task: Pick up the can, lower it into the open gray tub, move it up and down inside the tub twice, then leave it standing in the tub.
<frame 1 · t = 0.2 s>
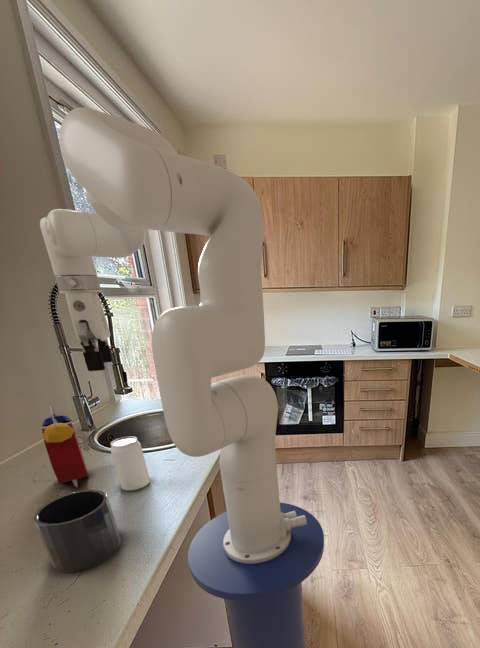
hand: (101, 366, 80), 29 cm above the countertop, tool pointing down, fingers open, 9 cm apart
open gray tub: (88, 551, 65), on the countertop
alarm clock: (80, 478, 91), on the countertop
can: (136, 485, 87), on the countertop
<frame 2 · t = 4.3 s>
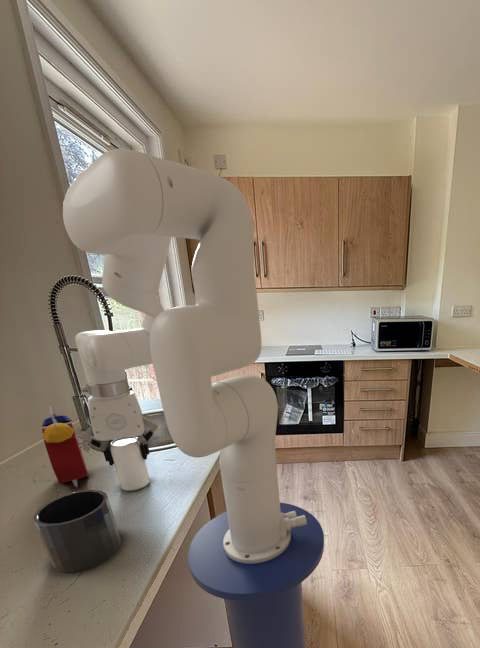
hand: (129, 459, 84), 7 cm above the countertop, tool pointing down, fingers closed on can, 6 cm apart
can: (136, 485, 87), on the countertop, touching gripper
everything else where it was.
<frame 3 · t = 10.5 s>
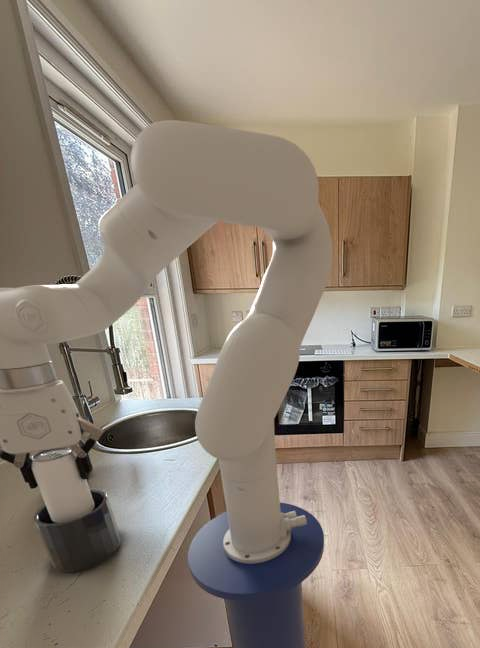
hand: (61, 479, 59), 15 cm above the countertop, tool pointing down, fingers closed on can, 6 cm apart
can: (74, 514, 62), point 8 cm above the countertop, touching gripper
everything else where it was.
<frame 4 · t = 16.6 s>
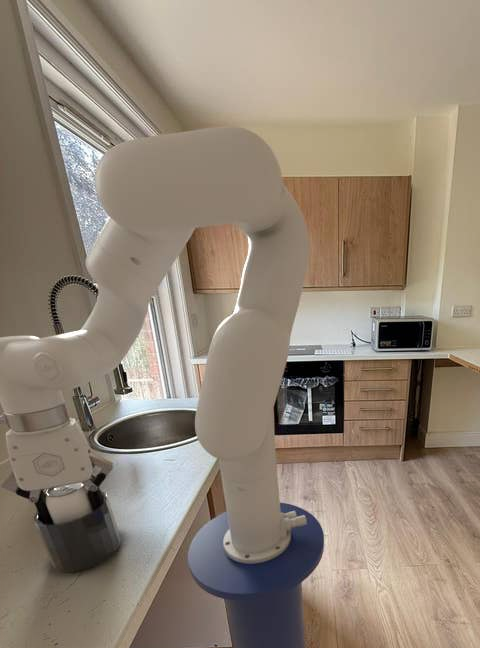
hand: (74, 511, 62), 9 cm above the countertop, tool pointing down, fingers closed on can, 6 cm apart
can: (86, 544, 64), point 2 cm above the countertop, touching gripper
everything else where it was.
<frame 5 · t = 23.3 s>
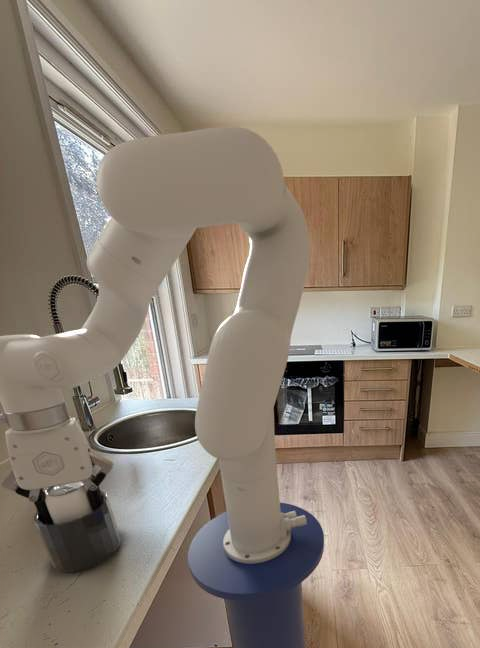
hand: (73, 510, 62), 9 cm above the countertop, tool pointing down, fingers closed on can, 6 cm apart
can: (85, 543, 64), point 2 cm above the countertop, touching gripper
everything else where it was.
when the fingers open (11 cm above the countertop, at t = 29.5 s): can drops 3 cm, resting on open gray tub.
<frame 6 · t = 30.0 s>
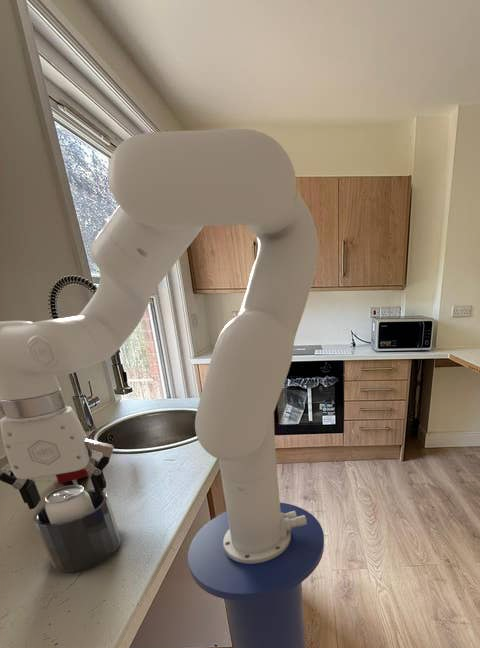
hand: (69, 498, 61), 12 cm above the countertop, tool pointing down, fingers open, 9 cm apart
can: (85, 549, 65), point 1 cm above the countertop, touching open gray tub
everything else where it was.
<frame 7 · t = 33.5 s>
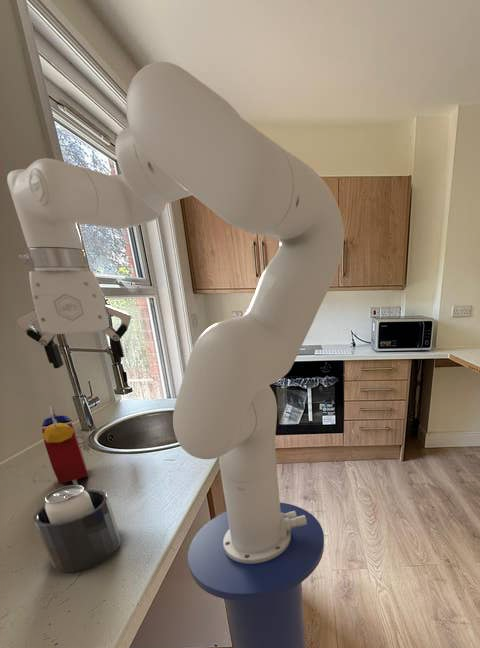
hand: (89, 364, 65), 32 cm above the countertop, tool pointing down, fingers open, 9 cm apart
nothing on the countertop moved.
at the end: can 0.3 cm off-centre in the open gray tub, point 0.6 cm above the open gray tub's base; can tilted 0°; the gripper is holding nothing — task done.
